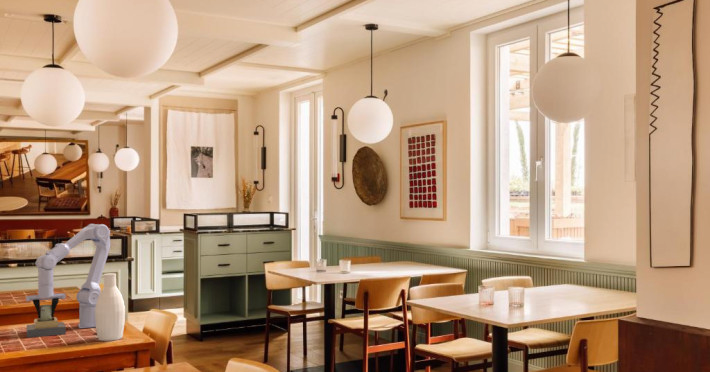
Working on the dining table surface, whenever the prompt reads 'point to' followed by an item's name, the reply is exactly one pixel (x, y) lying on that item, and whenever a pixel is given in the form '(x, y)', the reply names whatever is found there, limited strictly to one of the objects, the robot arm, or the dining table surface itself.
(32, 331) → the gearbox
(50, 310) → the spout can
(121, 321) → the bottle
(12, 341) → the dining table surface
